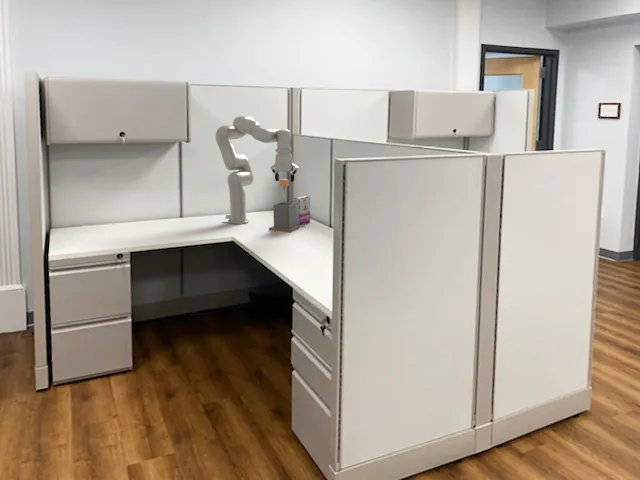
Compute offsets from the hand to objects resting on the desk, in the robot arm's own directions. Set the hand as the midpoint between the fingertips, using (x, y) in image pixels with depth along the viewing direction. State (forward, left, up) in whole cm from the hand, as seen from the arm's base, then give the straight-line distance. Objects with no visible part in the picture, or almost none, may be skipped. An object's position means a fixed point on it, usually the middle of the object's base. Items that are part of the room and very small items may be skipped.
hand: (284, 181), depth 347 cm
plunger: (0, 0, -18) cm, 18 cm away
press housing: (0, 0, -28) cm, 28 cm away
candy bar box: (+2, +20, -29) cm, 35 cm away
